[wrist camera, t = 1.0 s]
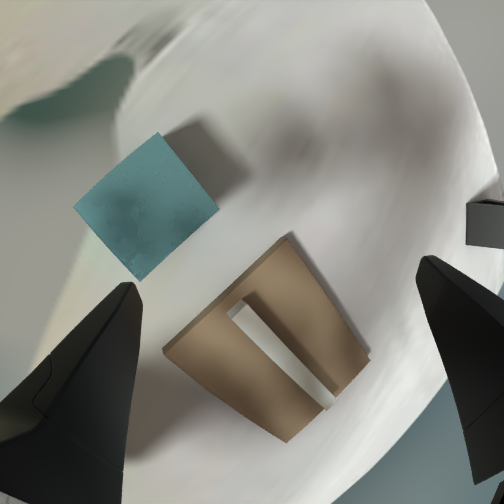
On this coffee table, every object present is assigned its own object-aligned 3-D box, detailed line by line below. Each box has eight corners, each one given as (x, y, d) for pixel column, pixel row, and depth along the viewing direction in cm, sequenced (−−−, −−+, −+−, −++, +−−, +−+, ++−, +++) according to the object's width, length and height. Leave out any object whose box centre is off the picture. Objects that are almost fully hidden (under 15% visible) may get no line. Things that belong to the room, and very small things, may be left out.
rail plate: (282, 437, 30) (291, 449, 28) (162, 348, 23) (166, 362, 21) (364, 356, 32) (377, 364, 30) (281, 237, 25) (294, 241, 23)
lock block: (137, 266, 21) (140, 281, 18) (82, 204, 19) (72, 206, 15) (203, 206, 22) (219, 209, 19) (152, 142, 20) (158, 132, 17)
